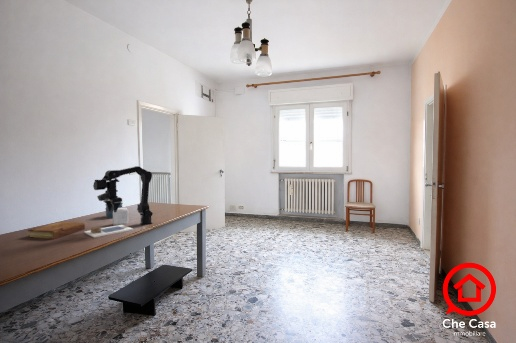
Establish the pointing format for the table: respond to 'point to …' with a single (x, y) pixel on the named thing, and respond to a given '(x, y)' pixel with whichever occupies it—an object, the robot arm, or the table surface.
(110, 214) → the canister
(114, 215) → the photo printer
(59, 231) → the diary
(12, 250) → the table surface
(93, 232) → the blueprint board
